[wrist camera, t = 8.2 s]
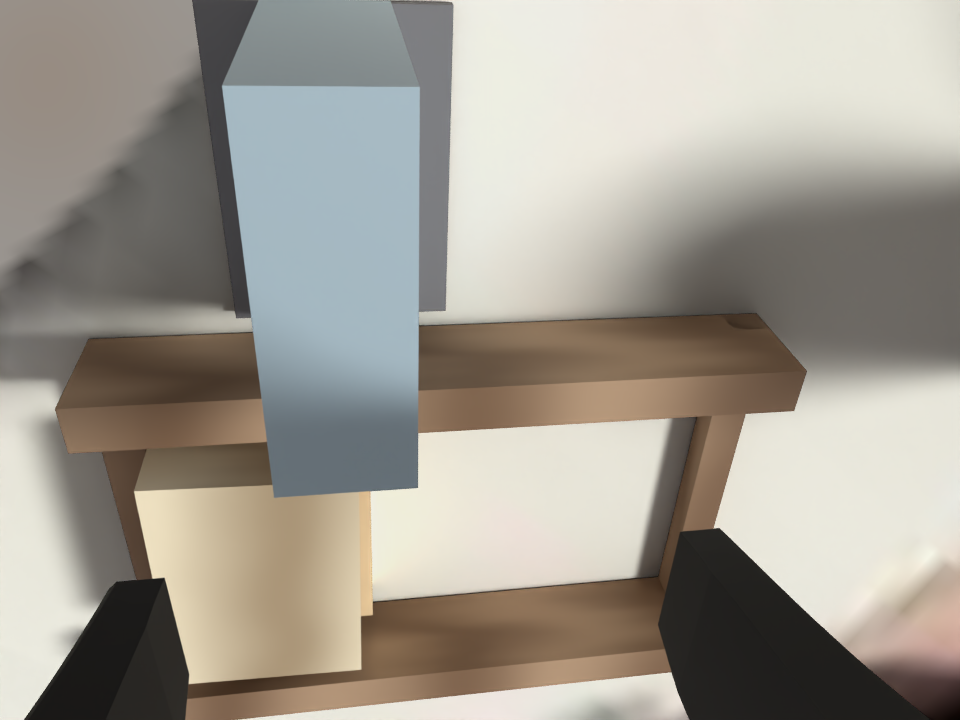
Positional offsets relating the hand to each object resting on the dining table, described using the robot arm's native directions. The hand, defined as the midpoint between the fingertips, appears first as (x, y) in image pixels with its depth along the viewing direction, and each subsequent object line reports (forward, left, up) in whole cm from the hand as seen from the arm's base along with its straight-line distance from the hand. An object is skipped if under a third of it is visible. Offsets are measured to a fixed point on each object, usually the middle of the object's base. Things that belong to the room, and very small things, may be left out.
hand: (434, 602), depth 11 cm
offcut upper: (-4, -7, -9) cm, 12 cm away
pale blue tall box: (-1, +3, -10) cm, 10 cm away
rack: (+1, -7, -10) cm, 12 cm away
